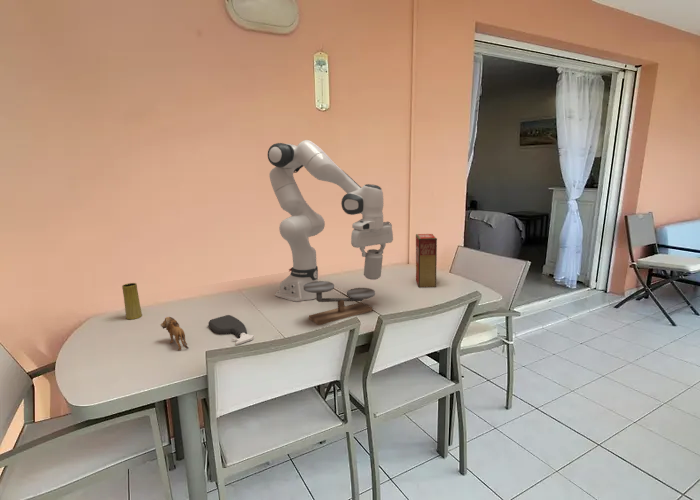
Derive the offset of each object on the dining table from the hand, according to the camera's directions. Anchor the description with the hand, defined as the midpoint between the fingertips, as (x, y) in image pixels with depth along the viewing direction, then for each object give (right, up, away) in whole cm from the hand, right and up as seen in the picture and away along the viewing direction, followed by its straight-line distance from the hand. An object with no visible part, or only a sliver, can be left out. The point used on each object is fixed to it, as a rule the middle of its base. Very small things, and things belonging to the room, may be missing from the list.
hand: (372, 255), depth 167 cm
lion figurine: (-72, -32, -29) cm, 83 cm away
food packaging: (+29, -15, +33) cm, 47 cm away
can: (0, -10, +3) cm, 10 cm away
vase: (-101, -26, -3) cm, 105 cm away
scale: (-13, -25, -6) cm, 29 cm away
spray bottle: (-54, -30, -20) cm, 65 cm away
